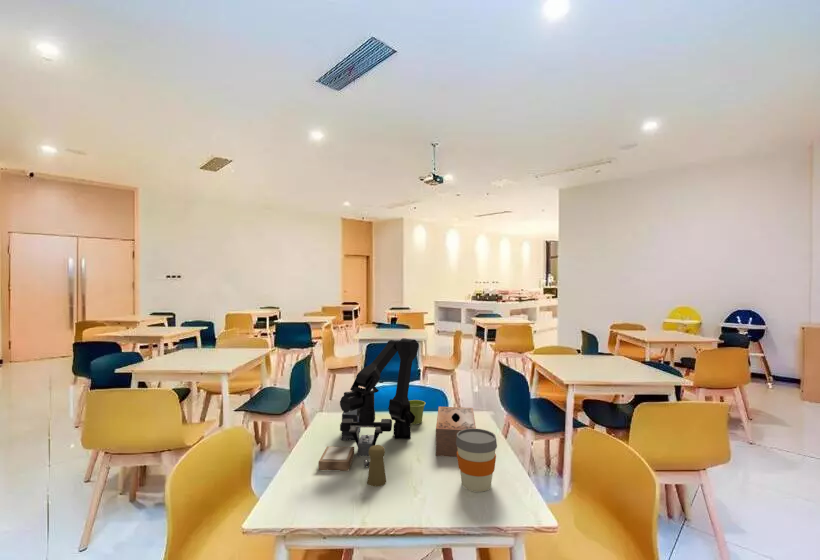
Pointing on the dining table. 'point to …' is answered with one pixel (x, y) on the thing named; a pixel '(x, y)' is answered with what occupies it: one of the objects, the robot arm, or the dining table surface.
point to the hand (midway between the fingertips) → (366, 448)
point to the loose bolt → (366, 463)
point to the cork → (376, 466)
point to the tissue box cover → (451, 428)
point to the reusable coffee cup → (476, 458)
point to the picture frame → (336, 458)
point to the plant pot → (417, 410)
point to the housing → (365, 444)
